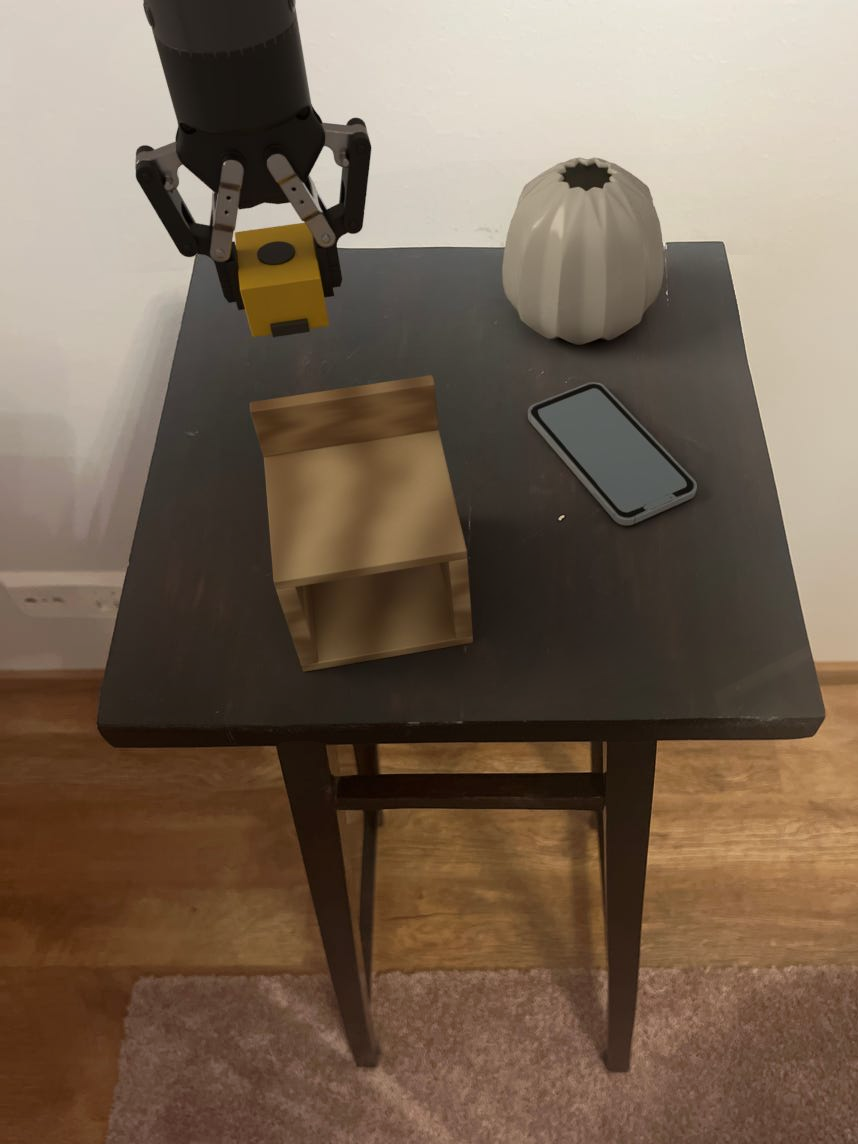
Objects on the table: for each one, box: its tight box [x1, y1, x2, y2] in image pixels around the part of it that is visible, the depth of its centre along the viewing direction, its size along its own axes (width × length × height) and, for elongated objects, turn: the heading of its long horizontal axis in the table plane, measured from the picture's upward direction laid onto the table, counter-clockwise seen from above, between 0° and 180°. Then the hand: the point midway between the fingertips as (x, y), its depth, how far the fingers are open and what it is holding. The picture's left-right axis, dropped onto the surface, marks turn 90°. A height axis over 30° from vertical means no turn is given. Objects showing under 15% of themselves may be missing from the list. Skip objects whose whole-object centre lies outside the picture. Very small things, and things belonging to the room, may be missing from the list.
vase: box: [501, 157, 665, 346], centre depth 84 cm, size 14×14×13 cm
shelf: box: [249, 374, 474, 673], centre depth 66 cm, size 12×12×14 cm
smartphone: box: [527, 381, 698, 526], centre depth 78 cm, size 7×1×15 cm
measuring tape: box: [234, 222, 330, 338], centre depth 63 cm, size 5×7×4 cm
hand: (285, 295), depth 64 cm, fingers closed on measuring tape, 5 cm apart
